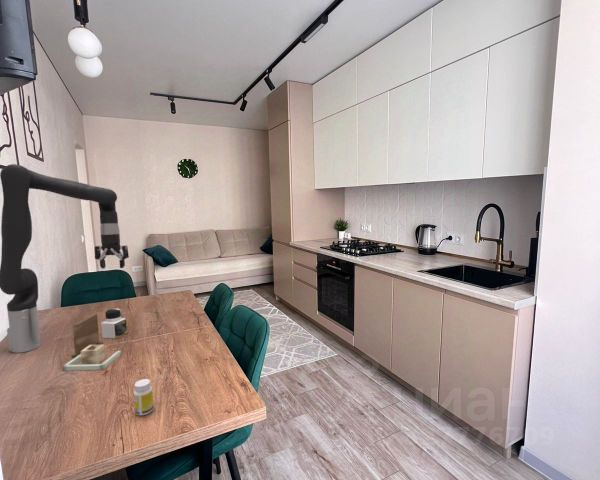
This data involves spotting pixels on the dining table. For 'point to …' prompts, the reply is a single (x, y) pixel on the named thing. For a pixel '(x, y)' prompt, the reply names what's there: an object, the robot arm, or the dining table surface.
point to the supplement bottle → (143, 397)
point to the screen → (85, 334)
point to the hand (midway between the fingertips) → (112, 268)
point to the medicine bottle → (113, 324)
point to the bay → (102, 366)
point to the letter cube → (93, 354)
